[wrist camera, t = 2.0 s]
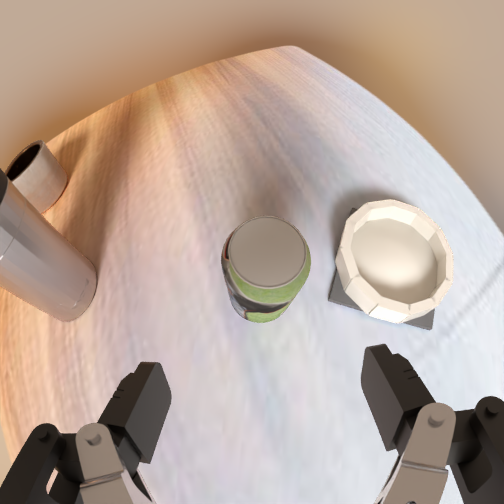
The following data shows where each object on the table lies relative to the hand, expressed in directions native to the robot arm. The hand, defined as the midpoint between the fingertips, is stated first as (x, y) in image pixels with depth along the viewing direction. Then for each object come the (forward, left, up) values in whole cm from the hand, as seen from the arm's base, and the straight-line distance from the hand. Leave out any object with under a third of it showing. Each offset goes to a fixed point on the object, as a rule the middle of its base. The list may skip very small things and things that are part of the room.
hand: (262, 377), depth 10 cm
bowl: (+8, +16, -15) cm, 23 cm away
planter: (-49, +12, -16) cm, 53 cm away
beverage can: (-4, +8, -16) cm, 18 cm away
